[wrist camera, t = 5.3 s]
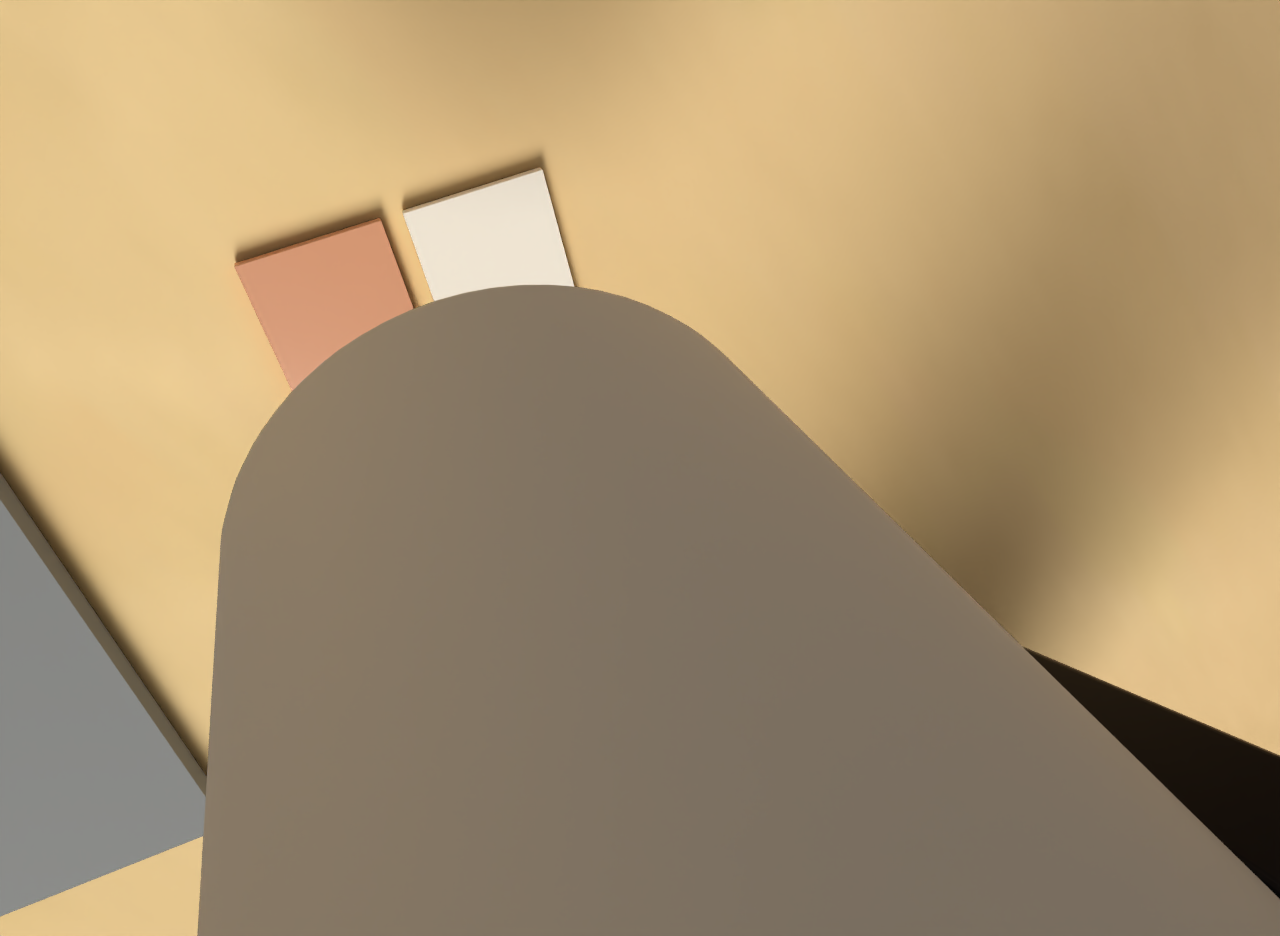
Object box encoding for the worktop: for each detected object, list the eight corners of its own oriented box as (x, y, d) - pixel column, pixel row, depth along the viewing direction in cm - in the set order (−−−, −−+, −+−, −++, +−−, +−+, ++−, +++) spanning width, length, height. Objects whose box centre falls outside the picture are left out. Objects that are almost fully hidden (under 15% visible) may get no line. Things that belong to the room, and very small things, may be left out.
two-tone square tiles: (582, 324, 20) (585, 327, 20) (306, 419, 19) (307, 423, 19) (540, 166, 18) (542, 169, 18) (235, 263, 18) (234, 267, 17)
